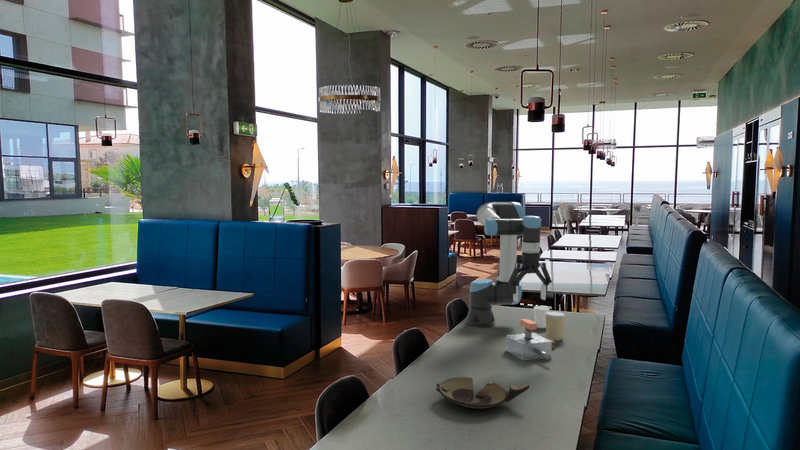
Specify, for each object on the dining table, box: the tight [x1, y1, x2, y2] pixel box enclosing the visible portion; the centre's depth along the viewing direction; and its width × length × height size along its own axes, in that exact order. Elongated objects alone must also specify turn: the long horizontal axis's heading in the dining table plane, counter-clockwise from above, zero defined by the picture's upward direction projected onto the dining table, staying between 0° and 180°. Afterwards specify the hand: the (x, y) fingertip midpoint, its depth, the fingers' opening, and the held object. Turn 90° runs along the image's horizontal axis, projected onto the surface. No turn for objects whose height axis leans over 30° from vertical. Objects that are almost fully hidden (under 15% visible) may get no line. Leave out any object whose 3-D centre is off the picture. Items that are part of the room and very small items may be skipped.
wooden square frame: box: [543, 336, 556, 349], centre depth 246 cm, size 8×8×3 cm
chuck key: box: [519, 318, 538, 340], centre depth 234 cm, size 3×8×12 cm, turn 17°
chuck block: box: [505, 332, 553, 362], centre depth 231 cm, size 23×14×7 cm, turn 17°
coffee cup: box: [545, 311, 566, 341], centre depth 259 cm, size 9×9×12 cm
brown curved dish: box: [435, 376, 530, 410], centre depth 181 cm, size 22×30×8 cm
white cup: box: [533, 305, 550, 329], centre depth 280 cm, size 8×8×10 cm
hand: (529, 300), depth 234 cm, fingers open, 13 cm apart
